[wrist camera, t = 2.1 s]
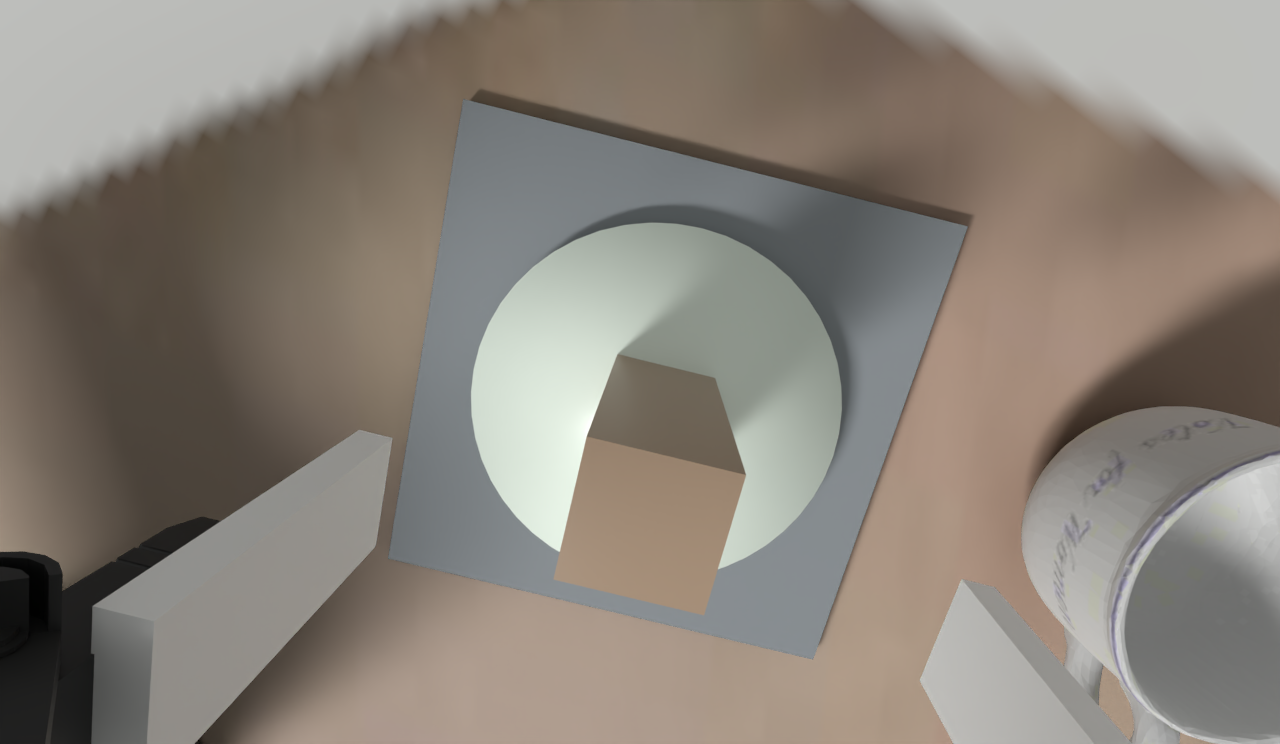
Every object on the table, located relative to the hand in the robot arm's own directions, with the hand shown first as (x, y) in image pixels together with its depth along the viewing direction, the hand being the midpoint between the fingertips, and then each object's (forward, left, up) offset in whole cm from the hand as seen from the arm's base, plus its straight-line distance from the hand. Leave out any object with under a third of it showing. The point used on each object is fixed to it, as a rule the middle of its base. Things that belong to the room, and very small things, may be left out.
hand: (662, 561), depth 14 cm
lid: (0, 0, -13) cm, 13 cm away
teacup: (+20, -1, -14) cm, 24 cm away
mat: (0, 0, -13) cm, 13 cm away
